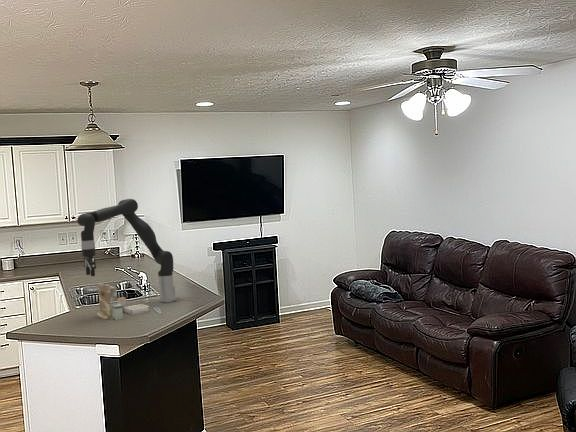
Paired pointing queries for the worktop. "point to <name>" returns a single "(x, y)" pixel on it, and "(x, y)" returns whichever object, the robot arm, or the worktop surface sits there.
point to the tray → (136, 309)
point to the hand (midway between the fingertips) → (90, 275)
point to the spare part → (122, 302)
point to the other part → (117, 312)
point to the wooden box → (106, 300)
